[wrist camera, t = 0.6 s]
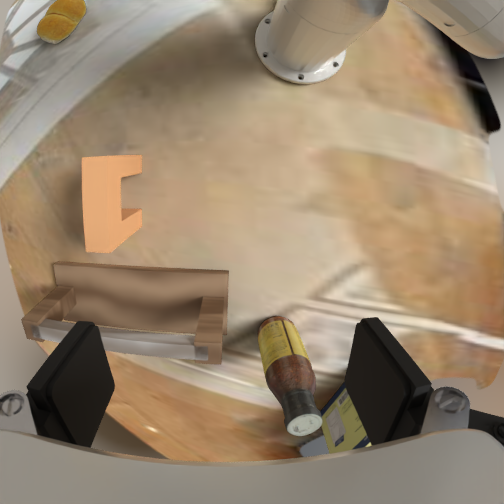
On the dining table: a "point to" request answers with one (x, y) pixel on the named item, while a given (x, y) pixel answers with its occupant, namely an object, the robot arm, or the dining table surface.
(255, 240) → the dining table surface
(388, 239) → the dining table surface
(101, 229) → the wooden arch block
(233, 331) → the dining table surface
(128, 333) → the rail stand
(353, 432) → the protein box
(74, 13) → the bread roll
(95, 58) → the dining table surface
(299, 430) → the sauce bottle
